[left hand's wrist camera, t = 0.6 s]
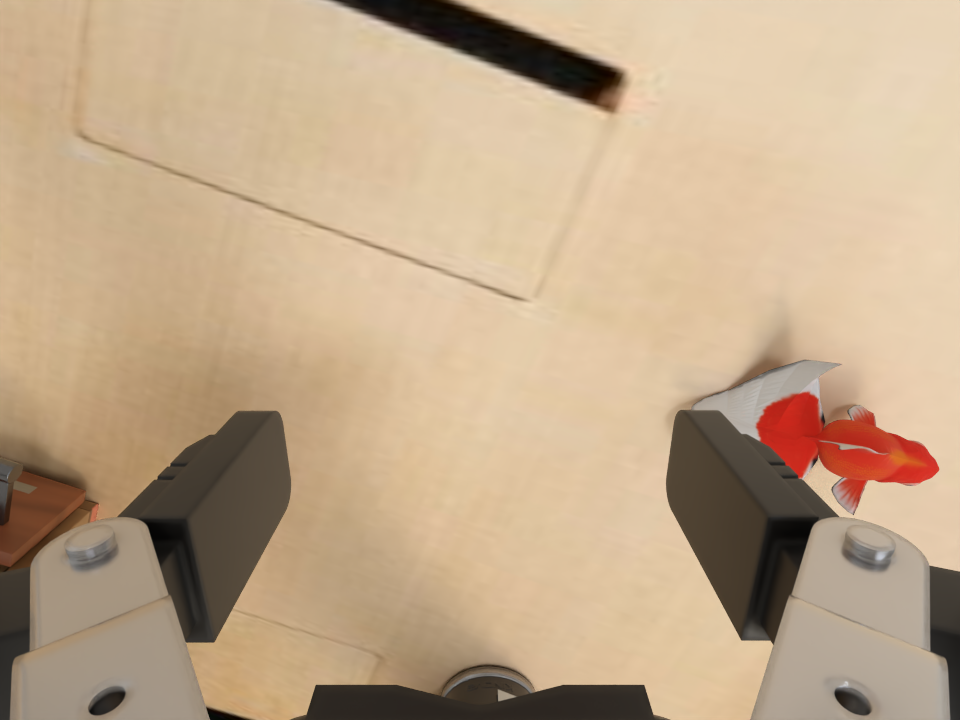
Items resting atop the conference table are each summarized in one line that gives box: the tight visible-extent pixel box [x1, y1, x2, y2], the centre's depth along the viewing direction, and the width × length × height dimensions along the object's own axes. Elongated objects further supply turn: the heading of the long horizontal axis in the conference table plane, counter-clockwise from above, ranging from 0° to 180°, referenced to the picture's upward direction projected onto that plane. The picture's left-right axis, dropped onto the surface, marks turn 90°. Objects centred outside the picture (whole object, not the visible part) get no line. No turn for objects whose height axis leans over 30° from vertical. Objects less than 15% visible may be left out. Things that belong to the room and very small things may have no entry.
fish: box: [692, 360, 939, 515], centre depth 39 cm, size 11×16×10 cm
